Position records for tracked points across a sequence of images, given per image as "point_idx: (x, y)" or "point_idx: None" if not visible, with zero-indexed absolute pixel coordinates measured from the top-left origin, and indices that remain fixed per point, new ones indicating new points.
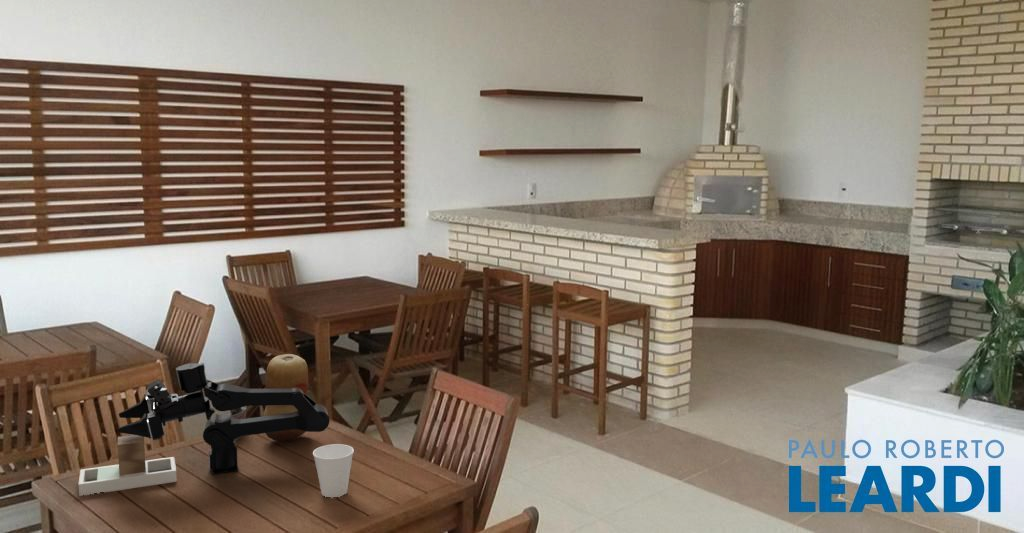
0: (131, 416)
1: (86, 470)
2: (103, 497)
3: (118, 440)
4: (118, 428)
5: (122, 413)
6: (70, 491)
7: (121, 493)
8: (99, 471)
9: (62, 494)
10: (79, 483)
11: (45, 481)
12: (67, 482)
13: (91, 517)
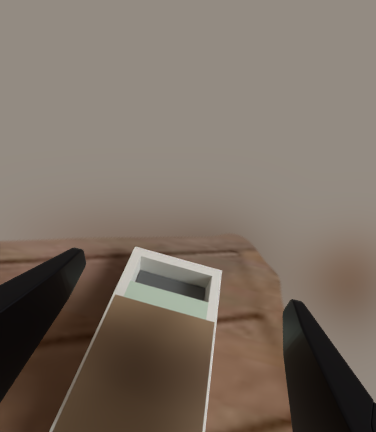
0: (291, 392)
1: (211, 279)
2: (88, 295)
3: (168, 312)
4: (76, 248)
5: (294, 318)
6: (171, 256)
7: (75, 338)
8: (185, 299)
9: (165, 243)
10: (139, 249)
11: (242, 239)
12: (219, 262)
13: (5, 251)
